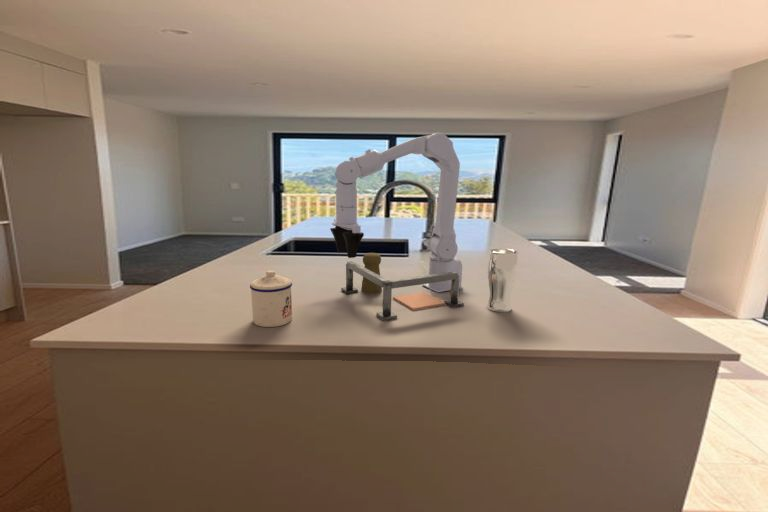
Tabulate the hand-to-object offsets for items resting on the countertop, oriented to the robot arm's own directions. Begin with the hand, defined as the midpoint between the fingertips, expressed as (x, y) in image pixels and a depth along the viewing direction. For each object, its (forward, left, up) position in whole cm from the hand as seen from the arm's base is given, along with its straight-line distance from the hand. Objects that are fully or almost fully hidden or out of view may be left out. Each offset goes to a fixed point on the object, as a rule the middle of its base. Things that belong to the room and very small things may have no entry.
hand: (346, 254), depth 111 cm
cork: (-6, +4, -11) cm, 13 cm away
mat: (-13, +18, -10) cm, 24 cm away
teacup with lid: (+24, +13, -11) cm, 29 cm away
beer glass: (-29, +31, -11) cm, 44 cm away
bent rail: (-10, +13, -10) cm, 19 cm away
